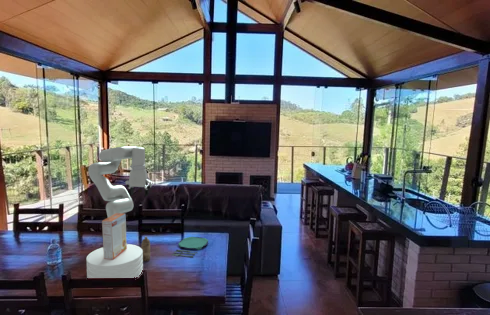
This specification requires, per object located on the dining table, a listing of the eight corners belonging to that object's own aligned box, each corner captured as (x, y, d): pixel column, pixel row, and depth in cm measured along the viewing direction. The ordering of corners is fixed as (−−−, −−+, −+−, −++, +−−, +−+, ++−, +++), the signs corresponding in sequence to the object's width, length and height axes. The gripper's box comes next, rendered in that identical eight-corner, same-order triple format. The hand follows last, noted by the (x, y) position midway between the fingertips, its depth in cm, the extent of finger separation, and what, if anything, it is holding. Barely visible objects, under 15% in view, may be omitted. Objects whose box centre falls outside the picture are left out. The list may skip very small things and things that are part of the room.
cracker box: (117, 248, 172) (116, 212, 169) (127, 249, 171) (126, 213, 169) (102, 259, 158) (101, 220, 155) (113, 259, 157) (112, 220, 155)
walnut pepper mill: (140, 261, 181) (140, 238, 179) (143, 257, 185) (143, 235, 184) (148, 261, 180) (148, 239, 178) (151, 258, 185) (151, 235, 183)
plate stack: (105, 261, 180) (104, 242, 179) (150, 264, 178) (150, 245, 177) (75, 285, 153) (74, 264, 151) (128, 289, 150) (128, 267, 149)
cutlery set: (212, 241, 215) (212, 237, 215) (195, 259, 186) (195, 255, 186) (186, 238, 220) (186, 235, 219) (166, 255, 191) (166, 252, 191)
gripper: (121, 167, 179) (122, 196, 181) (149, 169, 177) (149, 197, 179) (128, 166, 187) (129, 193, 189) (154, 167, 184) (155, 195, 186)
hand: (139, 195), depth 184 cm, fingers open, 9 cm apart
